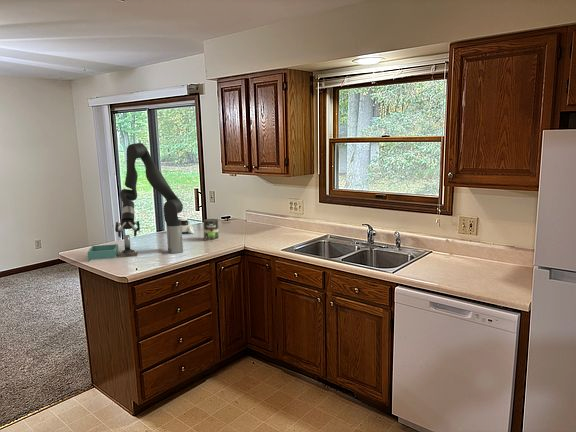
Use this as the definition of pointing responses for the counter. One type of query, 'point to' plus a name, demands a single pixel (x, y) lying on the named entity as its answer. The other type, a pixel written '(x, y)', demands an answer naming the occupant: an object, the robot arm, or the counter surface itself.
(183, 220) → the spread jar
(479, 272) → the counter surface
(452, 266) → the counter surface
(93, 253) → the bin
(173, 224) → the robot arm
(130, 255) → the square framed wooden base
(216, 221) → the coffee can
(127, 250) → the tube
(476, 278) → the counter surface
